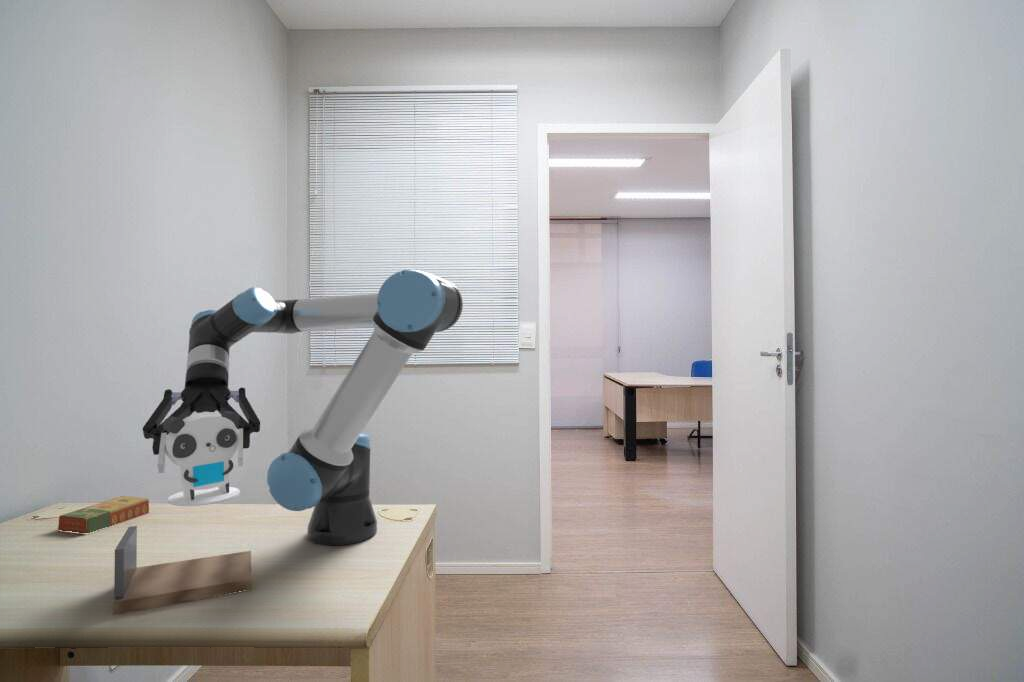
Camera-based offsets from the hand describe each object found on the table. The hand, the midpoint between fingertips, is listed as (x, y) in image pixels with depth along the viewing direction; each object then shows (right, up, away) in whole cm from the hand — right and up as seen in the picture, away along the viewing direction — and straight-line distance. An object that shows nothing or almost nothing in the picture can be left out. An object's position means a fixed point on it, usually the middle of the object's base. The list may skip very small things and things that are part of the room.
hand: (201, 465), depth 96 cm
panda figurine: (-1, -6, +2) cm, 7 cm away
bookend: (-11, -20, -3) cm, 23 cm away
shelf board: (-3, -22, +2) cm, 22 cm away
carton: (-43, -22, +34) cm, 59 cm away
